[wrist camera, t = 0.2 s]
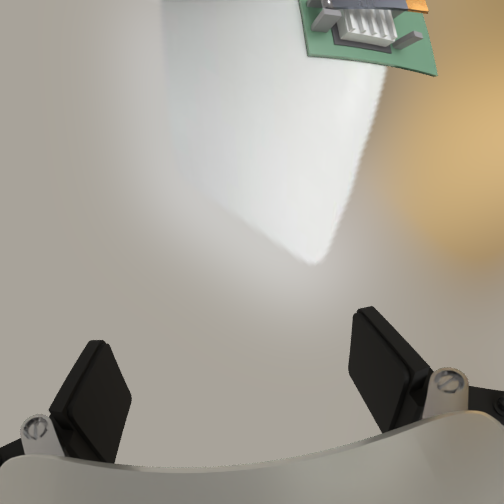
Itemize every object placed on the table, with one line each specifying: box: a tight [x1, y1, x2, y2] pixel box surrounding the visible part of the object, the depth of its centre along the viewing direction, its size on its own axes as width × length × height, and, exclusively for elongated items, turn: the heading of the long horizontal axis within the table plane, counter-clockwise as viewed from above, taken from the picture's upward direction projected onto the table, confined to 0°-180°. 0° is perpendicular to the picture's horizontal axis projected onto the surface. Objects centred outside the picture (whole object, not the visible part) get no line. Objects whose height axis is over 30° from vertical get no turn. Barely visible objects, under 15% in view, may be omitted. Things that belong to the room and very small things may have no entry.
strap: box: [321, 0, 428, 14], centre depth 24 cm, size 3×15×2 cm, turn 95°
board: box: [299, 0, 438, 77], centre depth 29 cm, size 14×24×8 cm, turn 95°
